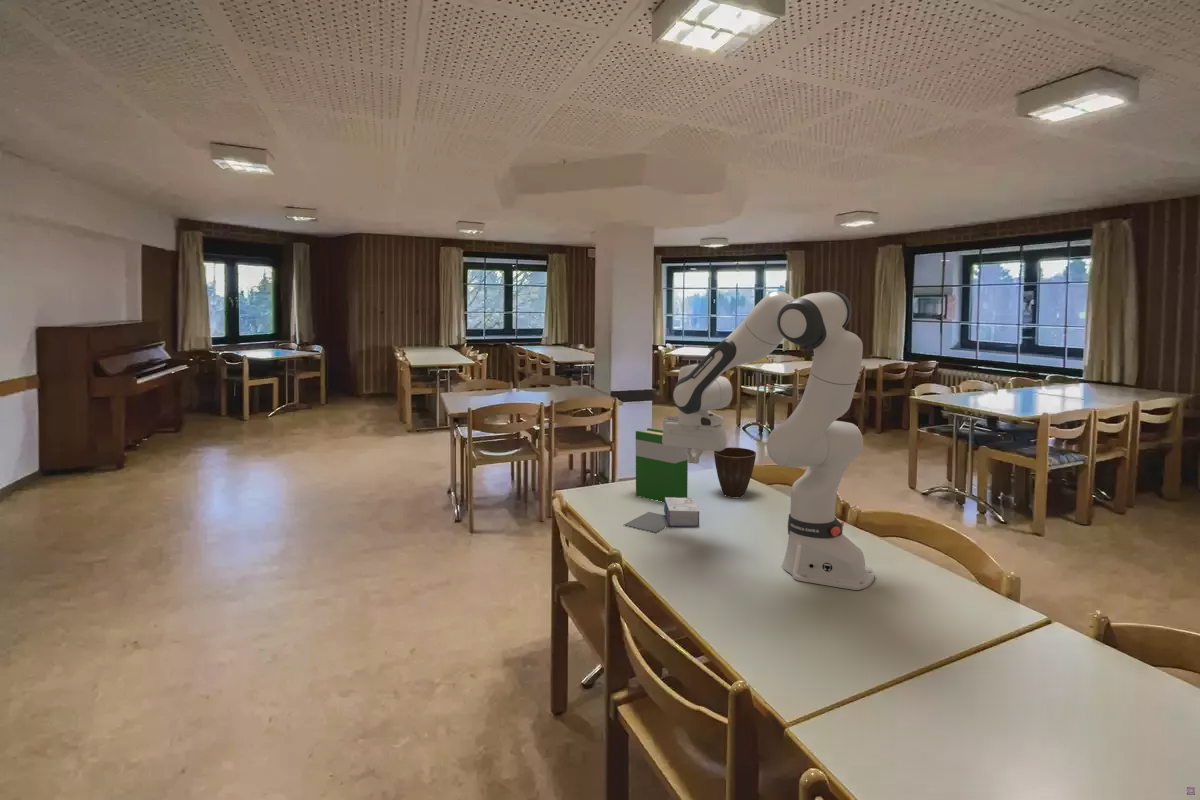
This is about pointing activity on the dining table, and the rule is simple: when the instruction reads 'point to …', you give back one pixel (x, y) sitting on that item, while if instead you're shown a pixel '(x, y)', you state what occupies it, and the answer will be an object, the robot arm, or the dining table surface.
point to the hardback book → (659, 467)
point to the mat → (649, 522)
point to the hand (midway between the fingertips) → (693, 463)
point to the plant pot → (734, 469)
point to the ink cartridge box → (681, 511)
